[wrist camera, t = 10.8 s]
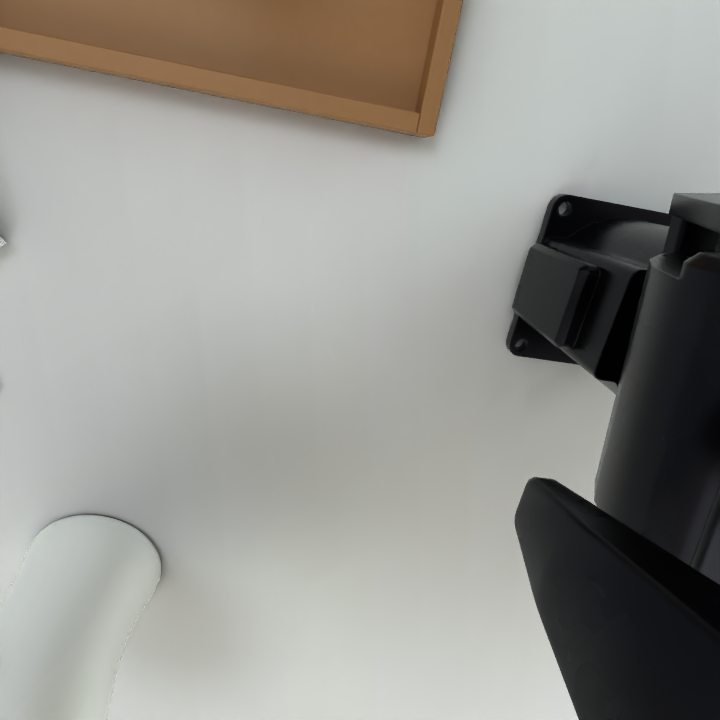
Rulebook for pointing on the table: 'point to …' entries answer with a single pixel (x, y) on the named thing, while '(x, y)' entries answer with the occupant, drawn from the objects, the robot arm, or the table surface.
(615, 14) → the table surface
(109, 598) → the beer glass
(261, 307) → the table surface
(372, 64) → the brown flat rectangular frame
